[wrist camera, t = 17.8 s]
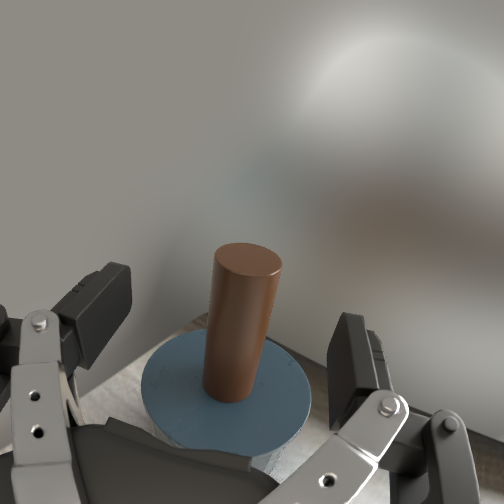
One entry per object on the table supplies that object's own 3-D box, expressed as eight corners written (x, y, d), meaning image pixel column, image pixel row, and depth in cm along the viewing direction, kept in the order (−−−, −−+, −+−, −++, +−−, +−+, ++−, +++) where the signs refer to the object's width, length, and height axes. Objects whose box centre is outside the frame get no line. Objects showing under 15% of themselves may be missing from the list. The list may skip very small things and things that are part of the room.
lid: (110, 417, 14) (76, 274, 10) (188, 323, 22) (197, 201, 18) (283, 490, 12) (359, 376, 8) (318, 366, 20) (362, 245, 16)
